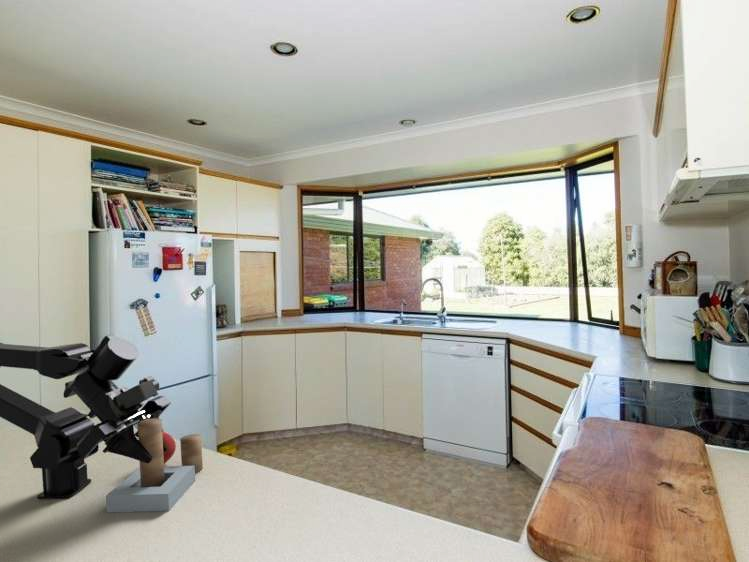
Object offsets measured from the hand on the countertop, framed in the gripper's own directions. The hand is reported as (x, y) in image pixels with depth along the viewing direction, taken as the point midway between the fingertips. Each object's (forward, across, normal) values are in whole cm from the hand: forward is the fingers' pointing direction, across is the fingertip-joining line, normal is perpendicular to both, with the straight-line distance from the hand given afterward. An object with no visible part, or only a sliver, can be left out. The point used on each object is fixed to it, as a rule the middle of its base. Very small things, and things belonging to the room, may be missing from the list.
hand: (158, 456), depth 84 cm
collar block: (+4, 0, +6) cm, 8 cm away
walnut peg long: (+4, 0, +6) cm, 7 cm away
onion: (0, +12, +11) cm, 17 cm away
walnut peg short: (+5, +10, +5) cm, 13 cm away
